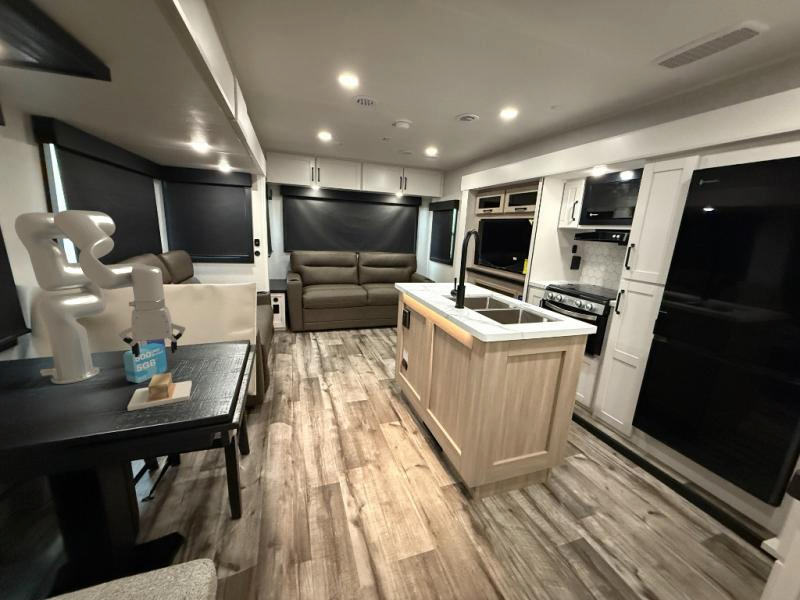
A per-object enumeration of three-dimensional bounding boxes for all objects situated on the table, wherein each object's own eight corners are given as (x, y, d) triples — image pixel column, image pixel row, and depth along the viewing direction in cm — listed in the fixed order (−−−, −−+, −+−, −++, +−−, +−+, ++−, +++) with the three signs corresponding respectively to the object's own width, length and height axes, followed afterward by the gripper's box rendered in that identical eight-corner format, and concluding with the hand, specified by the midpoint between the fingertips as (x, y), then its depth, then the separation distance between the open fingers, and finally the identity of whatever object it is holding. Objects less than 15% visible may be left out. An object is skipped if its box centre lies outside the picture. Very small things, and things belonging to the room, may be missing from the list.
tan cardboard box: (150, 400, 100) (148, 386, 99) (155, 387, 108) (153, 374, 107) (169, 397, 103) (167, 383, 102) (172, 385, 110) (171, 372, 109)
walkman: (166, 358, 134) (163, 332, 132) (166, 360, 132) (163, 334, 130) (143, 362, 129) (139, 335, 127) (143, 364, 127) (139, 337, 125)
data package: (136, 384, 112) (131, 354, 109) (126, 382, 113) (122, 352, 110) (167, 371, 123) (164, 343, 121) (159, 369, 124) (155, 341, 122)
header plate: (128, 411, 97) (127, 406, 96) (137, 393, 107) (136, 389, 106) (188, 399, 105) (188, 395, 104) (191, 384, 115) (191, 380, 114)
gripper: (111, 309, 91) (118, 362, 95) (181, 306, 99) (186, 354, 103) (118, 303, 97) (125, 353, 101) (184, 300, 106) (188, 346, 110)
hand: (156, 353), depth 102 cm, fingers open, 9 cm apart
